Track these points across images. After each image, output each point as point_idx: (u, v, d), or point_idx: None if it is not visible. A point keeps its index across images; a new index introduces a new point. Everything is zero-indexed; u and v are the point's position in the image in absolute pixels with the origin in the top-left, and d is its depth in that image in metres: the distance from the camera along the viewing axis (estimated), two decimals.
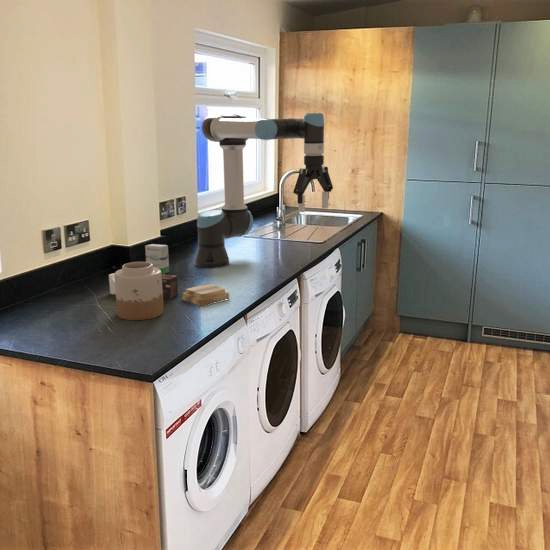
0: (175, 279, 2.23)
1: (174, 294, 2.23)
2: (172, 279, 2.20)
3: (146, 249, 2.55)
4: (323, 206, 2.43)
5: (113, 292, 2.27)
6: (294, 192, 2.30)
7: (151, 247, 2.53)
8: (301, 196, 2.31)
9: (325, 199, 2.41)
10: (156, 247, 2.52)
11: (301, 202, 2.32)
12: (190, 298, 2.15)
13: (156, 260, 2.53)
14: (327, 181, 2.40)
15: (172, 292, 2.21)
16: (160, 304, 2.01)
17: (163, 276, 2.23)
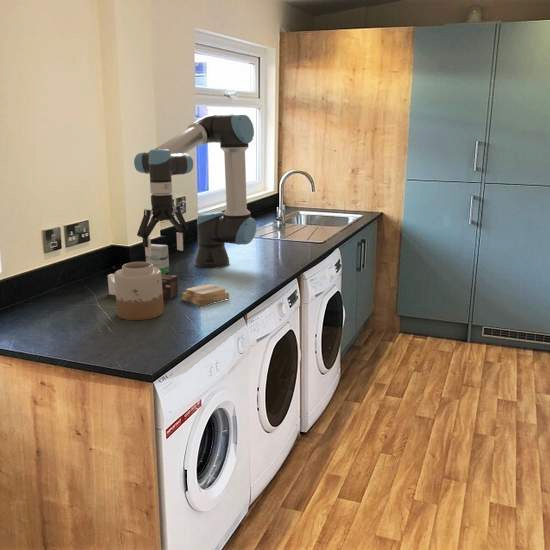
0: (175, 279, 2.23)
1: (174, 294, 2.23)
2: (172, 279, 2.20)
3: None
4: (178, 248, 2.24)
5: (112, 292, 2.26)
6: (138, 235, 2.11)
7: (151, 247, 2.53)
8: (146, 239, 2.13)
9: (179, 241, 2.23)
10: (156, 247, 2.52)
11: (146, 246, 2.13)
12: (190, 298, 2.15)
13: (156, 260, 2.53)
14: (181, 221, 2.22)
15: (172, 292, 2.21)
16: (160, 304, 2.01)
17: (163, 276, 2.23)
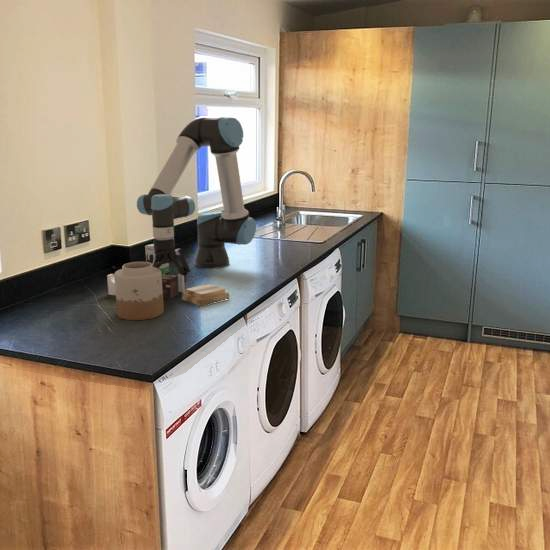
0: (175, 279, 2.23)
1: (174, 294, 2.23)
2: (172, 279, 2.20)
3: (146, 249, 2.55)
4: (180, 290, 2.28)
5: (111, 293, 2.26)
6: None
7: (151, 247, 2.53)
8: None
9: (181, 283, 2.27)
10: None
11: None
12: (190, 298, 2.15)
13: None
14: (183, 264, 2.26)
15: (172, 292, 2.21)
16: (160, 304, 2.01)
17: (163, 276, 2.23)
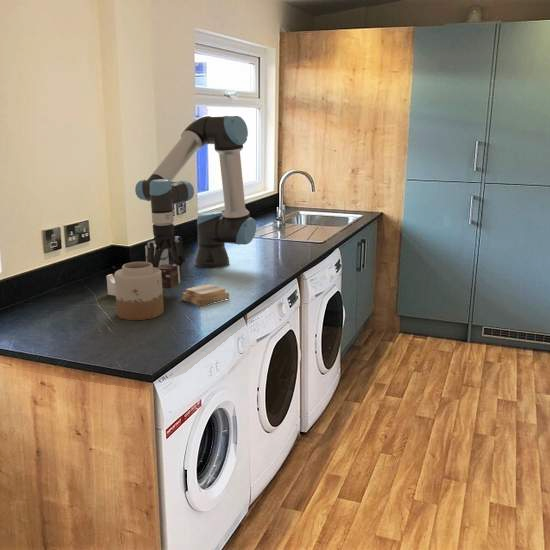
0: (175, 269, 2.22)
1: (175, 284, 2.23)
2: (171, 269, 2.20)
3: (146, 249, 2.55)
4: None
5: (111, 293, 2.25)
6: None
7: None
8: None
9: None
10: None
11: None
12: (190, 298, 2.15)
13: None
14: (179, 252, 2.24)
15: (173, 282, 2.21)
16: (160, 304, 2.01)
17: (163, 266, 2.22)
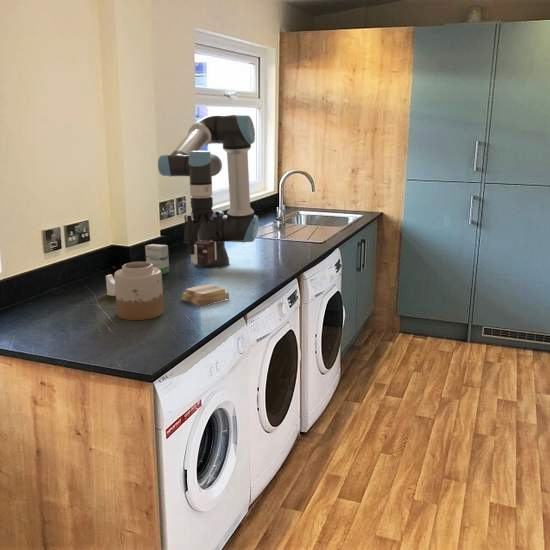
0: (212, 245, 2.14)
1: (211, 260, 2.14)
2: (209, 244, 2.12)
3: (146, 249, 2.55)
4: None
5: (110, 293, 2.25)
6: (184, 242, 2.09)
7: (151, 247, 2.53)
8: (193, 246, 2.10)
9: None
10: (156, 247, 2.52)
11: (193, 253, 2.10)
12: (190, 298, 2.15)
13: (156, 260, 2.53)
14: (216, 228, 2.16)
15: (210, 257, 2.13)
16: (160, 304, 2.01)
17: (200, 241, 2.14)
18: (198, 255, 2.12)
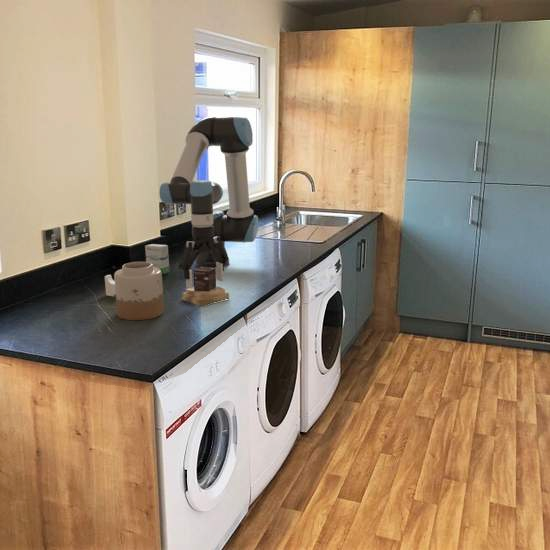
0: (213, 272, 2.16)
1: (212, 287, 2.17)
2: (210, 271, 2.14)
3: (146, 249, 2.55)
4: (218, 278, 2.22)
5: (109, 294, 2.25)
6: (179, 267, 2.09)
7: (151, 247, 2.53)
8: (188, 271, 2.10)
9: (219, 271, 2.20)
10: (156, 247, 2.52)
11: (188, 278, 2.11)
12: (190, 298, 2.15)
13: (156, 260, 2.53)
14: (221, 252, 2.19)
15: (211, 285, 2.15)
16: (160, 304, 2.01)
17: (201, 268, 2.16)
18: (199, 282, 2.15)
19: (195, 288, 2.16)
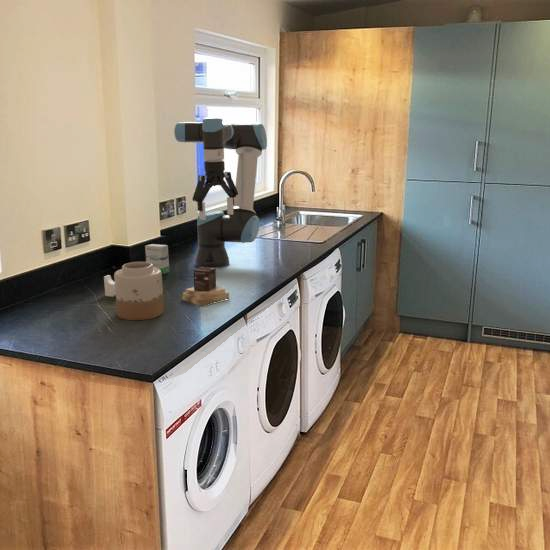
0: (213, 272, 2.16)
1: (212, 287, 2.17)
2: (210, 271, 2.14)
3: (146, 249, 2.55)
4: (228, 212, 2.37)
5: (108, 294, 2.24)
6: (193, 199, 2.24)
7: (151, 247, 2.53)
8: (201, 203, 2.25)
9: (230, 205, 2.36)
10: (156, 247, 2.52)
11: (201, 209, 2.26)
12: (190, 298, 2.15)
13: (156, 260, 2.53)
14: (231, 187, 2.34)
15: (211, 285, 2.15)
16: (160, 304, 2.01)
17: (201, 268, 2.16)
18: (199, 282, 2.15)
19: (195, 288, 2.16)
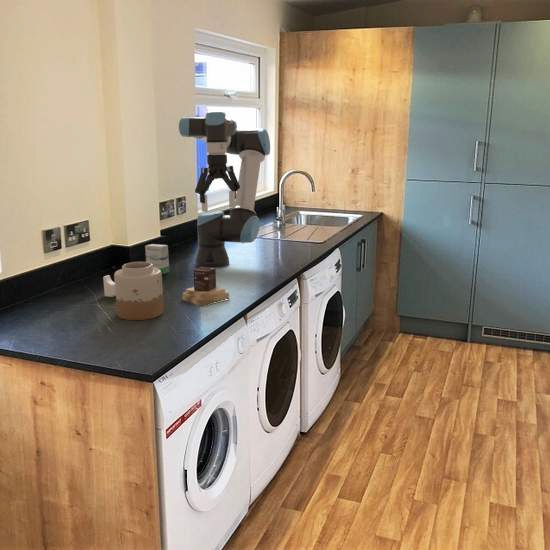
0: (213, 272, 2.16)
1: (212, 287, 2.17)
2: (210, 271, 2.14)
3: (146, 249, 2.55)
4: (230, 206, 2.41)
5: (107, 294, 2.24)
6: (196, 191, 2.28)
7: (151, 247, 2.53)
8: (203, 195, 2.29)
9: (232, 198, 2.39)
10: (156, 247, 2.52)
11: (203, 201, 2.30)
12: (190, 298, 2.15)
13: (156, 260, 2.53)
14: (233, 180, 2.38)
15: (211, 285, 2.15)
16: (160, 304, 2.01)
17: (201, 268, 2.16)
18: (199, 282, 2.15)
19: (195, 288, 2.16)
